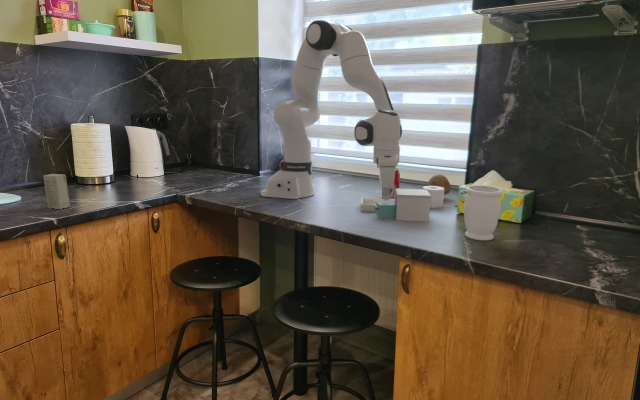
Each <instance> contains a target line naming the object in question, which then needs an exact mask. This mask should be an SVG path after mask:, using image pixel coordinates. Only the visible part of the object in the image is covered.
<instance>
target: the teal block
mask: <svg viewBox="0 0 640 400" xmlns="http://www.w3.org/2000/svg"><path fill="white" fill-rule="evenodd" d="M374 209H375V210H376V212H375V216H376V217H377V218H378V219H382V220H384V219H386V220H387V219H389V220H390V219H393V220H394V219H395V220H396V209H397V202H376V205H374Z"/></svg>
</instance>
